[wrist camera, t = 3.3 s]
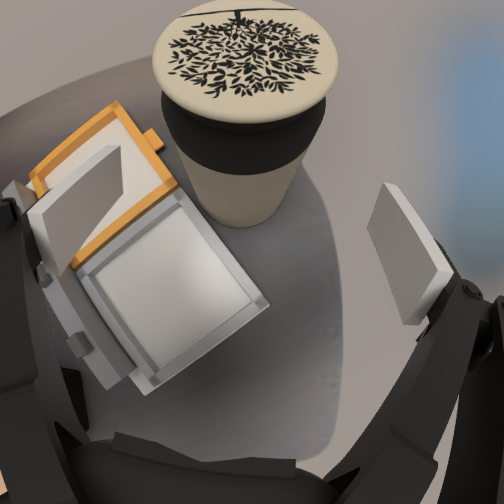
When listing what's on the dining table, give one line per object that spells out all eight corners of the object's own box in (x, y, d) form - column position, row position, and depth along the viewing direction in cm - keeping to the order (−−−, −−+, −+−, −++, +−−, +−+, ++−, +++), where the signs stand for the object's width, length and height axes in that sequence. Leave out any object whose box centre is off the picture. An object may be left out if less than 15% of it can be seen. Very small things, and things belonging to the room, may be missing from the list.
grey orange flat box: (28, 191, 27) (-12, 170, 19) (132, 103, 28) (110, 62, 21) (147, 392, 25) (121, 423, 18) (279, 296, 27) (295, 299, 19)
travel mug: (284, 229, 27) (360, 133, 10) (194, 228, 27) (127, 128, 9) (282, 148, 28) (330, 1, 10) (199, 147, 28) (163, -3, 10)
